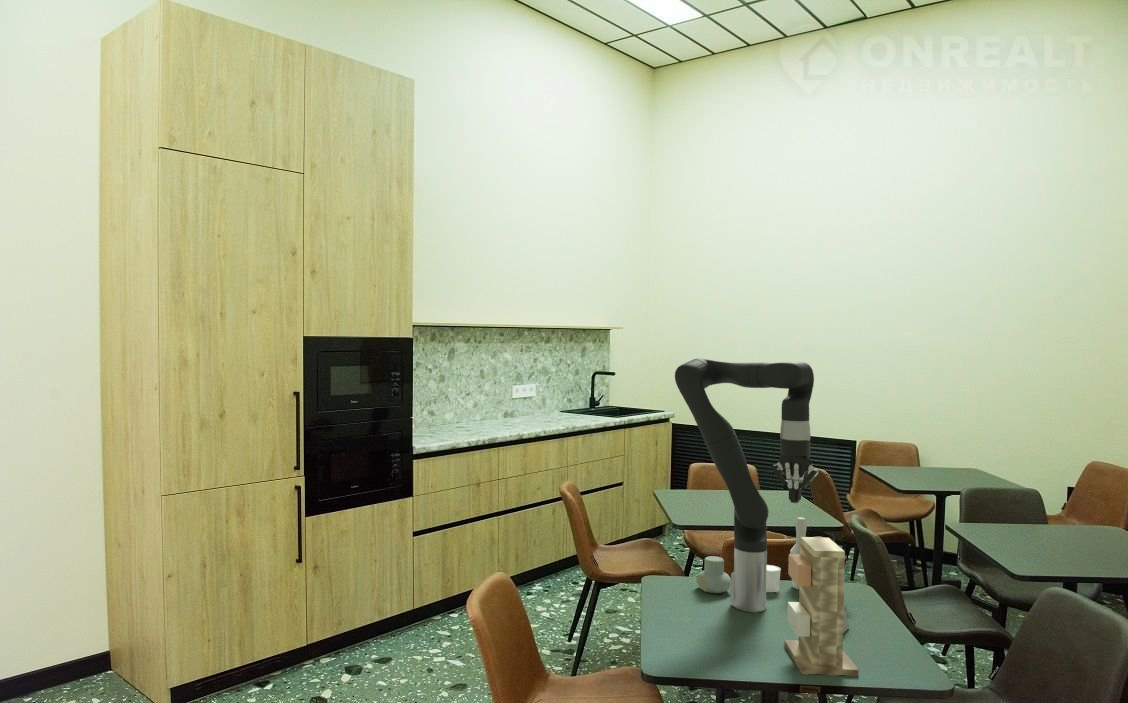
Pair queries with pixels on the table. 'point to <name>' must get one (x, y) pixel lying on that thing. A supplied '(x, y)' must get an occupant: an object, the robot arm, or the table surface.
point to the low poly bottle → (798, 540)
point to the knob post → (822, 612)
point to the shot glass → (772, 578)
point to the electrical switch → (845, 622)
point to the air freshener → (713, 576)
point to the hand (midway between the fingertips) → (794, 502)
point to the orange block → (799, 570)
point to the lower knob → (798, 619)
